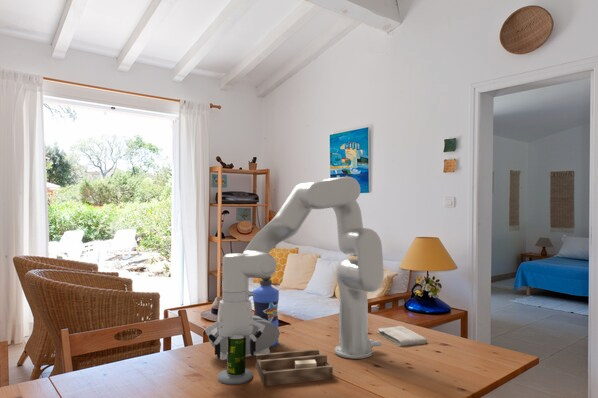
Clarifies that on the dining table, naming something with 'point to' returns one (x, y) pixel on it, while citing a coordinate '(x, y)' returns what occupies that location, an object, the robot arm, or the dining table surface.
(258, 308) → the water bottle
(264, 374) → the rack
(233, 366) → the beer can
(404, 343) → the washcloth
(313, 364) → the top offcut
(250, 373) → the grey glossy dome
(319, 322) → the dining table surface
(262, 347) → the alarm clock
